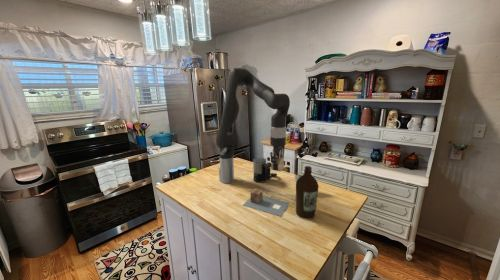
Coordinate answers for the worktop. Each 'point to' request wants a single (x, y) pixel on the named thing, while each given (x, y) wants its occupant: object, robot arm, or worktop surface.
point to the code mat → (269, 205)
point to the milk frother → (261, 170)
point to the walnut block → (256, 196)
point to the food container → (298, 177)
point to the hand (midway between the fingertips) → (277, 168)
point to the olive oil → (306, 194)
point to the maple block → (279, 164)
